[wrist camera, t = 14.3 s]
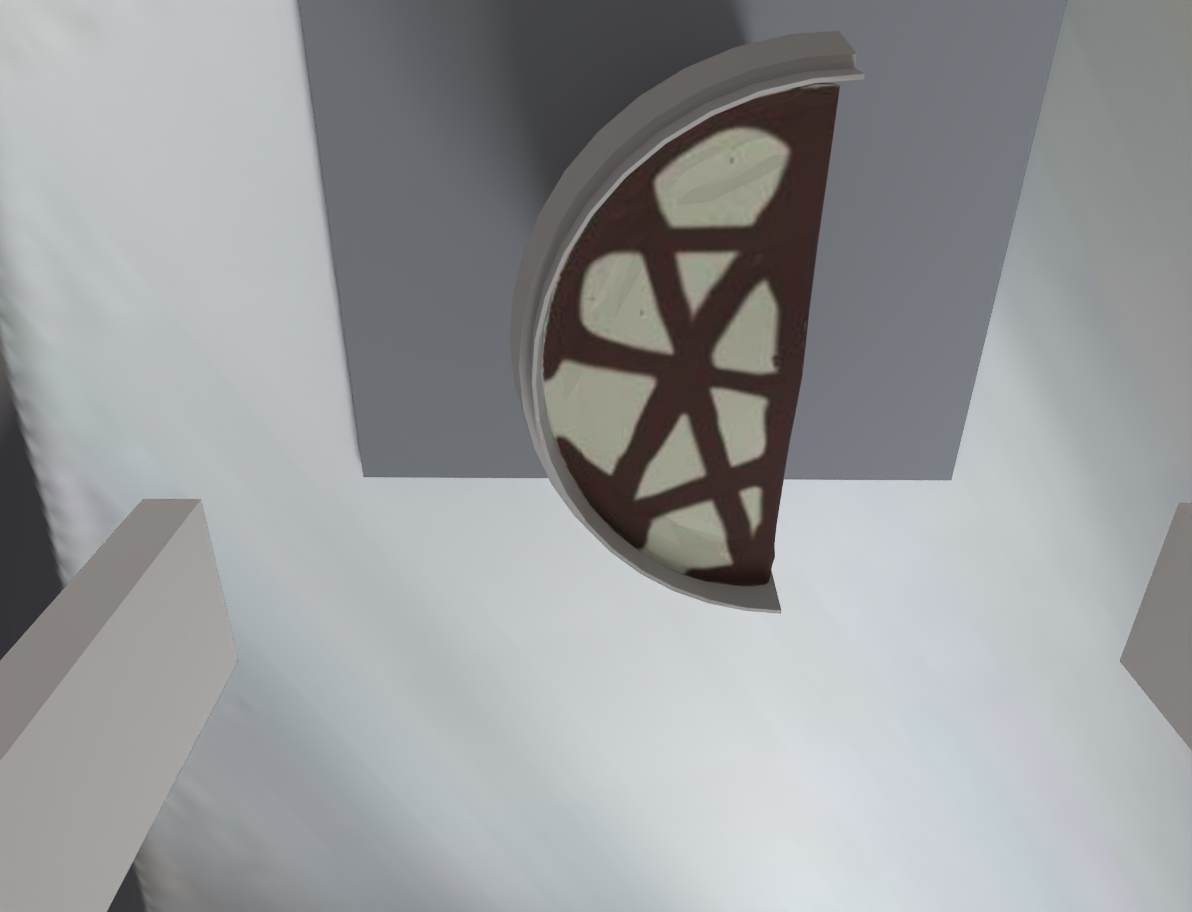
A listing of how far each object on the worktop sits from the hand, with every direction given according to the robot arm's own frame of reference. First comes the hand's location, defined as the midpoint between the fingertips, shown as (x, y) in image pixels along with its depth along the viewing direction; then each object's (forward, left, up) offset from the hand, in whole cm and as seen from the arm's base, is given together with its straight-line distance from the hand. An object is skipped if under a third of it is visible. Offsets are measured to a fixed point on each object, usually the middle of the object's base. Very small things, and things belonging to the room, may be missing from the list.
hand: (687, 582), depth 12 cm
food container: (0, 0, -16) cm, 16 cm away
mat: (0, -1, -16) cm, 16 cm away
